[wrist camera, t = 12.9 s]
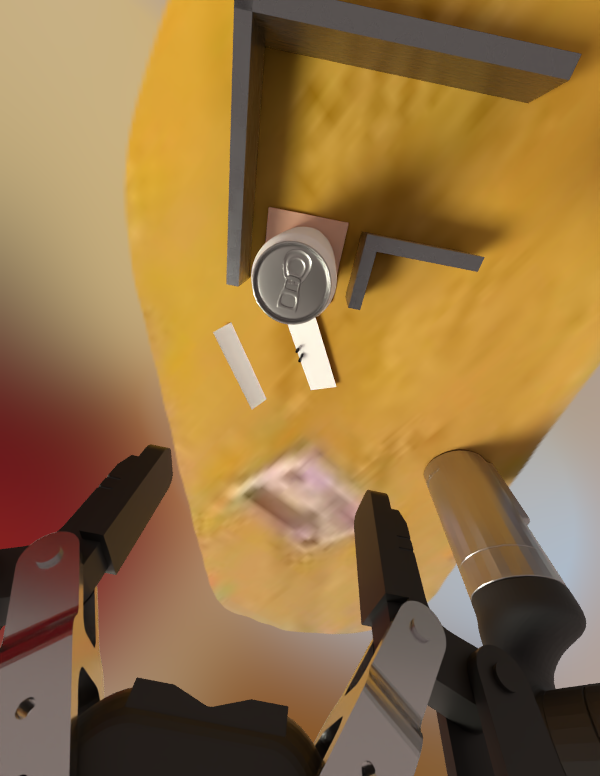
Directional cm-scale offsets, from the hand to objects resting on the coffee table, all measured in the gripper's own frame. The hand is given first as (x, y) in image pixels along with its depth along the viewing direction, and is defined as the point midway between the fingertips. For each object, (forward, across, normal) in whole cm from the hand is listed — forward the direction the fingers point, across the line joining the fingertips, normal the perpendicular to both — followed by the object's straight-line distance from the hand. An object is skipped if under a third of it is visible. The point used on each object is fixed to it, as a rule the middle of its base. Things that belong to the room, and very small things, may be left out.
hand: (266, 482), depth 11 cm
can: (+25, +2, -5) cm, 25 cm away
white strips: (+26, +3, +6) cm, 27 cm away
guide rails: (+25, -3, -12) cm, 28 cm away
